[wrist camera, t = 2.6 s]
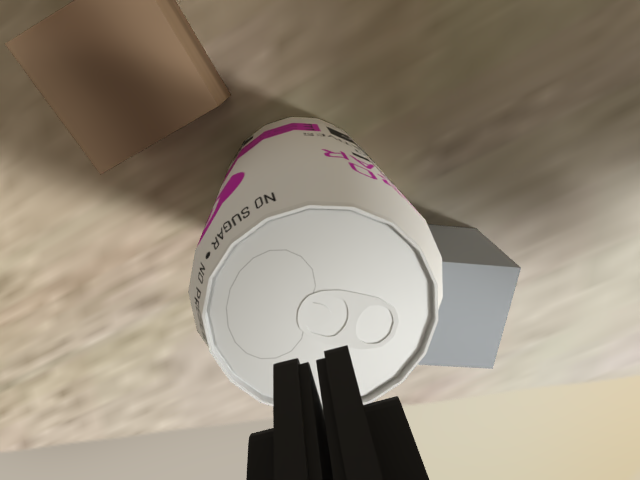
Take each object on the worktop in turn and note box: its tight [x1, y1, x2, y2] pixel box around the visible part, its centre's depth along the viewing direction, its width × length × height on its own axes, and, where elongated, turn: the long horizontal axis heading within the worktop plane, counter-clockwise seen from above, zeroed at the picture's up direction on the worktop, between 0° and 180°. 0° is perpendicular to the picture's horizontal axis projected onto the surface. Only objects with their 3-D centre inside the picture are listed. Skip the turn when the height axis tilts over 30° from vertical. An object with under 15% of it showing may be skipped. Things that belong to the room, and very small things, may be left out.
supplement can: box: [188, 117, 443, 408], centre depth 22 cm, size 8×8×15 cm
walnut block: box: [5, 0, 231, 175], centre depth 23 cm, size 6×6×6 cm
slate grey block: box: [417, 224, 521, 369], centre depth 28 cm, size 6×6×6 cm
